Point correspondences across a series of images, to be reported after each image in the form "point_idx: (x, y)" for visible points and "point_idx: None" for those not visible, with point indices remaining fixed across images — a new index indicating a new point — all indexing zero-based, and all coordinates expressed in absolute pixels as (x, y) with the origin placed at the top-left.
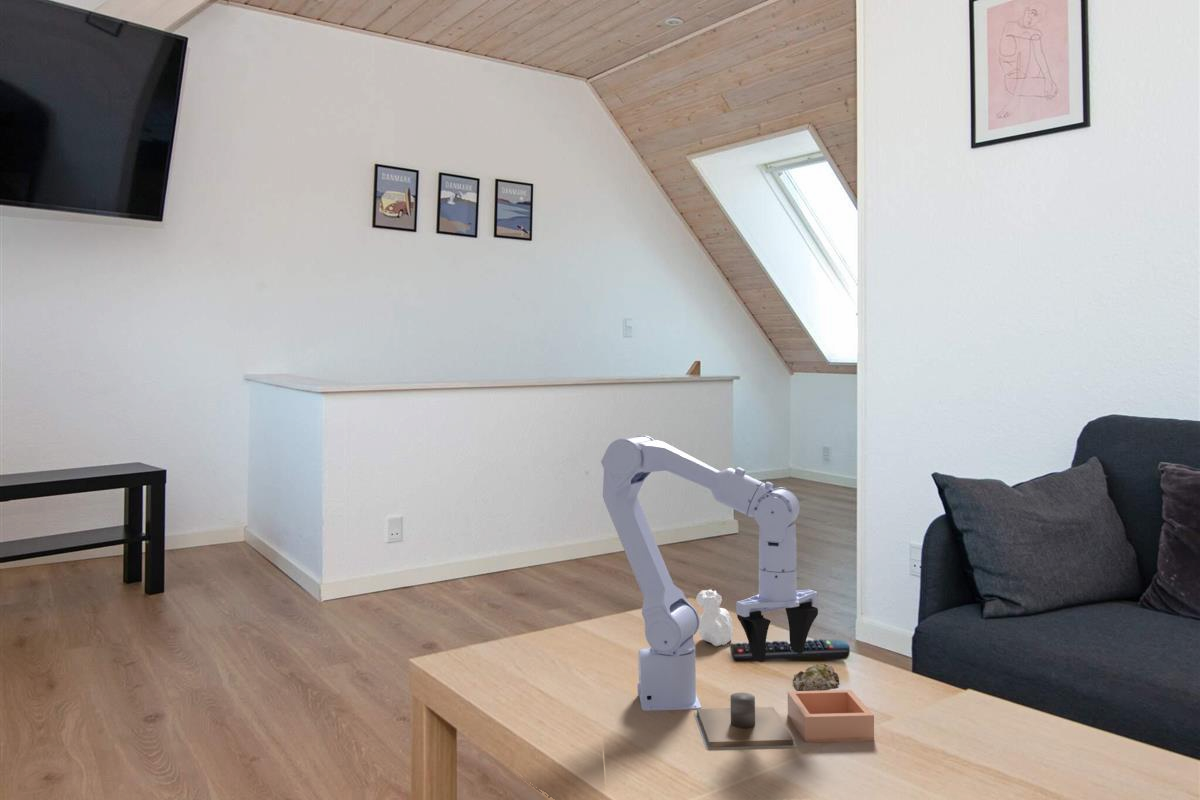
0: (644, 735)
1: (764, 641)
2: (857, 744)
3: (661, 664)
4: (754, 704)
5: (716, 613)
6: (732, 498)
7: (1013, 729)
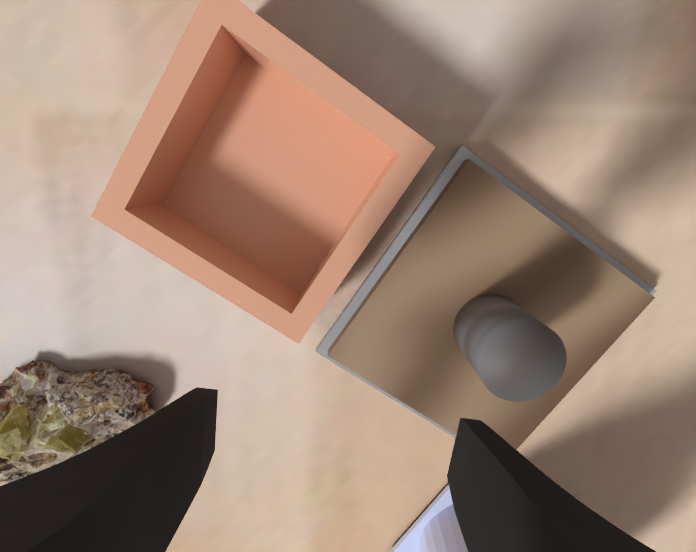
0: (675, 444)
1: (536, 492)
2: None
3: None
4: (497, 320)
5: None
6: None
7: None
